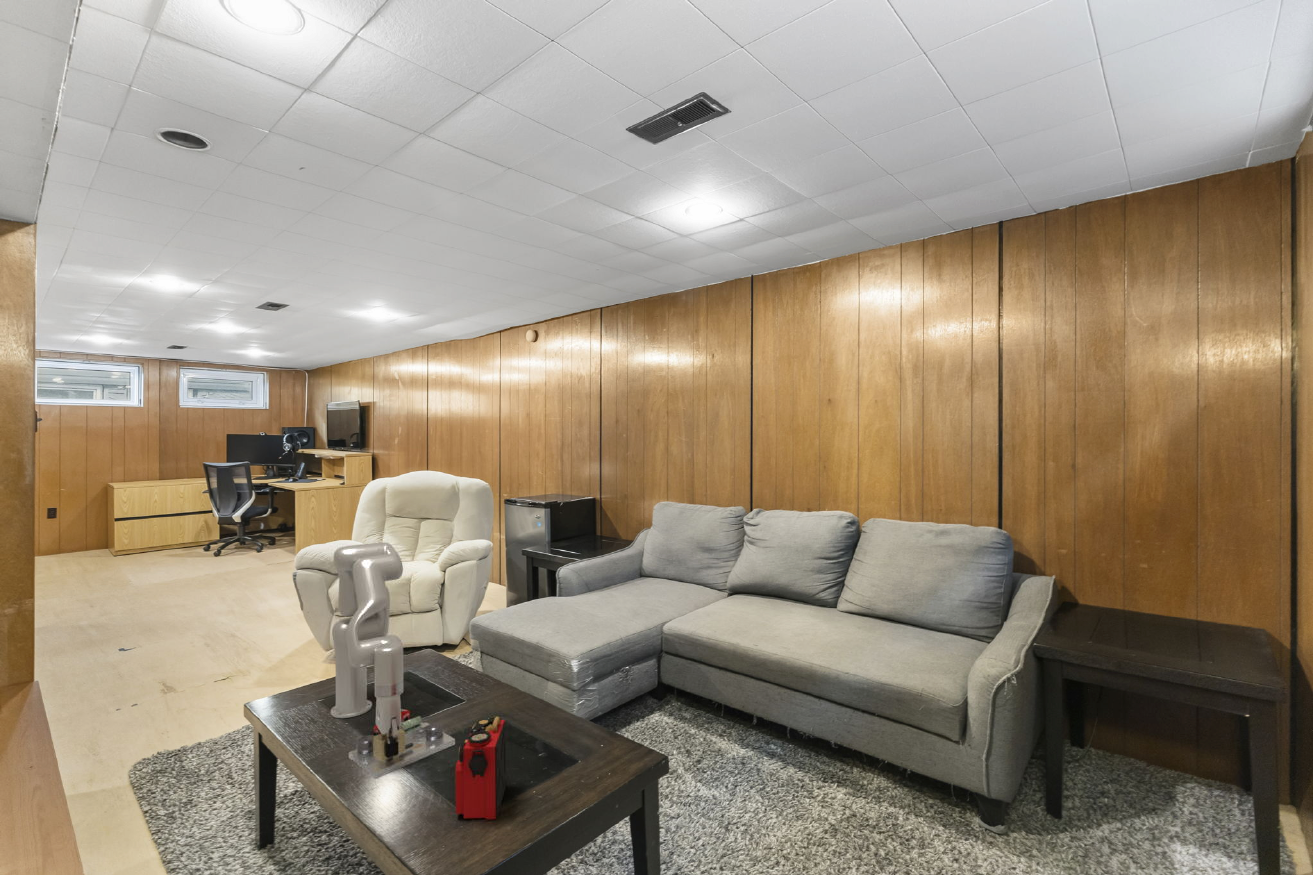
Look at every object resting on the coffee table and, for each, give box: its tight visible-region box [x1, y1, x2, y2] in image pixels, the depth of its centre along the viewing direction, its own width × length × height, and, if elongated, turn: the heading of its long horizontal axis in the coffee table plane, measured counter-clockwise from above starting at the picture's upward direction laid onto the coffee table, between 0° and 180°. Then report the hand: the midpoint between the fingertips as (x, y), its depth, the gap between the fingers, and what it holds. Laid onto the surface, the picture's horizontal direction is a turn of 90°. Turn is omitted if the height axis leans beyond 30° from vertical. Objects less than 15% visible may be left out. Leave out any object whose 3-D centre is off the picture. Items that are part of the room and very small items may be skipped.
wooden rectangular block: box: [373, 729, 413, 761], centre depth 174 cm, size 10×4×7 cm, turn 142°
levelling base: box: [348, 715, 456, 779], centre depth 180 cm, size 17×24×6 cm
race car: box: [373, 708, 411, 735], centre depth 196 cm, size 13×5×4 cm, turn 160°
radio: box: [454, 716, 507, 820], centre depth 153 cm, size 16×10×20 cm, turn 5°
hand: (389, 750), depth 173 cm, fingers closed on wooden rectangular block, 5 cm apart
